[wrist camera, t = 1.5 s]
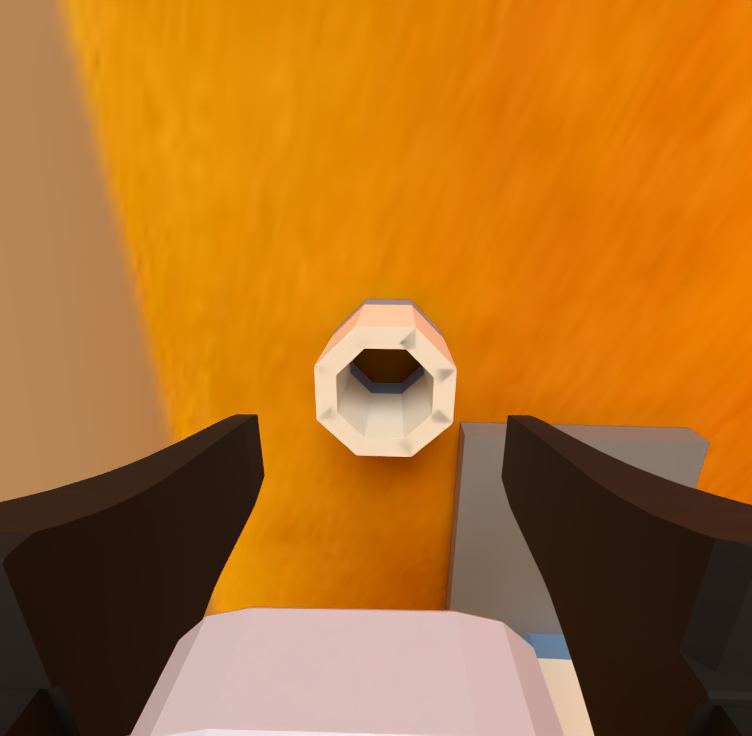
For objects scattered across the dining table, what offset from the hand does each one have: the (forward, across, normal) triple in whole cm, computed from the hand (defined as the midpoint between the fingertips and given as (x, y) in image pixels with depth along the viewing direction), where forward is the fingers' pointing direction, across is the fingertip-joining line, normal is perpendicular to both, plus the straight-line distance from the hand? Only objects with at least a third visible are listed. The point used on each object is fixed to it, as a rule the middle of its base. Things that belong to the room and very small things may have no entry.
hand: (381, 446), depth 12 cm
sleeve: (+10, 0, 0) cm, 10 cm away
